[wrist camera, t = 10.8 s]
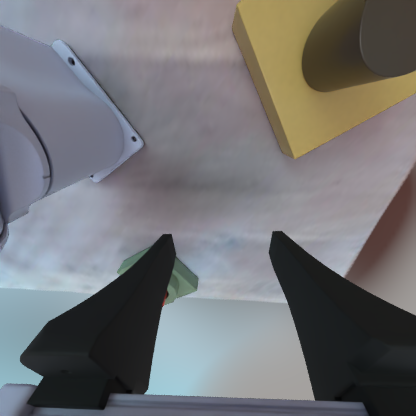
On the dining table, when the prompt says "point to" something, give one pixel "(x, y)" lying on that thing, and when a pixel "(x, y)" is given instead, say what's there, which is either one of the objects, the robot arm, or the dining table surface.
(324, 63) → the dark brown rotary knob
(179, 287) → the green stepped block
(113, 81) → the dining table surface
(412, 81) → the plate
